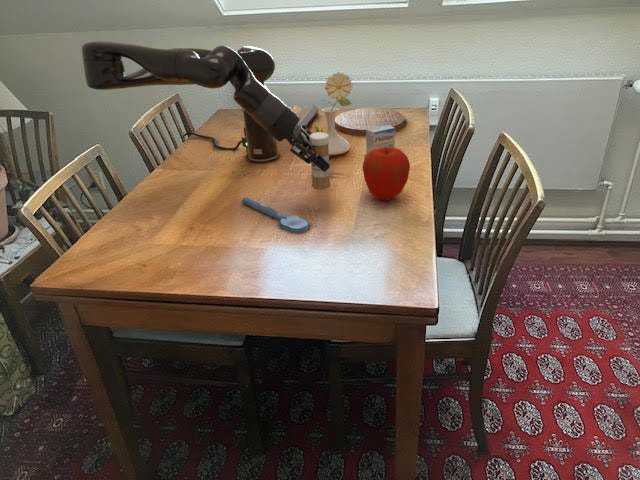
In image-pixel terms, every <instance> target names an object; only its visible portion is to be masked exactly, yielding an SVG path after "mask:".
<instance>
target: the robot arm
mask: <svg viewBox="0 0 640 480" xmlns="http://www.w3.org/2000/svg"><path fill="white" fill-rule="evenodd" d="M124 58H126V59H129V60H130V61H132V62H134V63H136V64H137V65H138V66H140V67H141V68H140V69H138V70H137V71H134V72H130V73H127V74H126V70H125V69H126V68H125V61H124ZM81 59H82V65H83V72H84V78H85V79H84V80H85V83H86V86H87V87H89V88H90V89H93V90H99V91H109V90H119V89H128V88H139V87H150V86H188V85H189V86H190V85H196V86H200V87H203V88H206V89H211V90H212V89H219V88H220V89H221V88H222V87H224V86H226V85H227V84H228V83H229V82H230V84H231V85H232V87H233V88H234V93H233V100H234V102H235V103H236V104H237V105H239V107H240V108H241V109H242V116H243V123H244V127H243V136H241V140H239V141H238V142H237V144H236V146H235V147H224V146H221V145H218V144H217V143H218V142H217V139H216V138H214V137H211V136H208V135H204V134H199V133H195V132H193V131H188V132H187V131H186V132H185V133H184V134H183V137H187V136H188V135H193V136H195V137H198V138H203V139H208V140H212V141H214V142H213V143H214V147H216V148H218V149H219V150H225V151H235V150H238V149H239V147H240V145H242V147H244V148H245V150H246V151H245V152H246V157H247V158H248V160H249V161H250V162H253V163H268V162H272V161H274V160H276V159H278V158H279V151H278V142H282V141H284V140H286V141H287V142H288V144H289V145H290V146H291V147H290V149H289V151H290V152H291V153H292V154H293V155H295V156H296V157H297V158H299V159H300V160H302V161H303V162H305V163H306V164H308V165H311V163H312V162H313V163H314V164H315V165H316V166H317V167H319V168H320V169H321V170H322V171H323V172H325V171H326V170H328V169H329V170H330V167H331V164H330V161H331V160H332V155H329V163H328V162H326V161H325V160H324V159H323V158H322V157H321V156H320V155H319V154H318V153H317V152H316V151H315V150H314V149H313V147H314V146H313V145H312V144H311V143H310V135H311V134H313V133H314V132H312V131H311V130H310V128H308V127H306V126H305V125H303V126H302V127H300V126H298V125H297V124H298V122H299V120H300V118H299V116H297V115H296V114H295V113H294V112H293V111H292V110H291V109H290V108H289V107H290V106H289V105H288V104H285V102H283V101H282V100H281V99H280V98H279V97H278V96H276V95H275V94H273V93H272V92H271V91H270V89H268V87H267V85H266V83H265V82H266V81H267V80H269V79H270V78H271V77H273V75H274V72H275V69H276V63H275V59H274V58H273V56H272V55H271V54H270V53H269V52H268V51H266V50H265V49H262V48H258V47H253V46H249V45H246V46H242V47H240V48H239V49H238V50H236V51H235V50H234V49H233V48H231V47H229V46H226V45H217V46H215V47H214V48H213V49H206V48H194V47H173V48H157V47H149V46H143V45H138V44H131V43H124V42H117V41H108V40H106V41H105V40H95V41H88V42H85V43H84V44H82V45H81ZM287 105H288V106H289V107H288V106H287Z"/></svg>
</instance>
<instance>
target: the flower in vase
mask: <svg viewBox="0 0 640 480" xmlns="http://www.w3.org/2000/svg"><path fill="white" fill-rule="evenodd" d="M353 85H354V83H353V82H352V79H351V77H350V76H349V75H348V74H345V73H344V72H342V73H341V72H339V71H338V72H336V73H333V74H332V75H330V76H328V77H327V79H326V82H325V85H324V90H326V91H325V92H326V94H327V97H330V98H331V99H333V100H334V99H335V100H336V101H335V103H334V104H333V103H332V102H330V101H327V100H325V99H323V102H325V103H327V104H330V105H332V106H327V107H324V108H323V109H322V112H323V113H324V114H325V118H326V124H327V132H325V133H326V134H328V135H329V144H328V152H329V155H330V156H338V155H342V154H345V153H347V152H348V151H349V150H350V149H351V144H350V143H349V142H348V141H347V140H346V139H345V137H342V136H341V135H340V134H338V133H337V131H336V126H335V118H336V117H337V113H338V112H339V110H340V109H339V108H338V107H335V106H336V104H337V103H339V105H340V106H341V107H347V106H350V105H352V104H353V103H352V102H351V101H350V100H349V99H348V98H347V97H349V96H350V95H351V91H352V90H353V89H352V88H353Z"/></svg>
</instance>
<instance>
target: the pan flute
mask: <svg viewBox="0 0 640 480" xmlns="http://www.w3.org/2000/svg"><path fill="white" fill-rule="evenodd" d="M286 105H287V106H288V107H289V108H290V109H291V110H292V111H293V112H294V113H295V114H296V115H297V116H299V118H300V120H299V122H298V124H297V125H298V126H300V127H302V126H303V125H305V126H306V127H307V128H308V127H309V126H310V124H311V123H312V122H313V121H314V119H315V118H316V117H317V115H318V113H319V108H318V107H317V106H316V105H313V106H311V107H308V106H307V105H303V106H302V107H299V106H298V105H294V106H293V107H291V106H290V105H288V104H286Z"/></svg>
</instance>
